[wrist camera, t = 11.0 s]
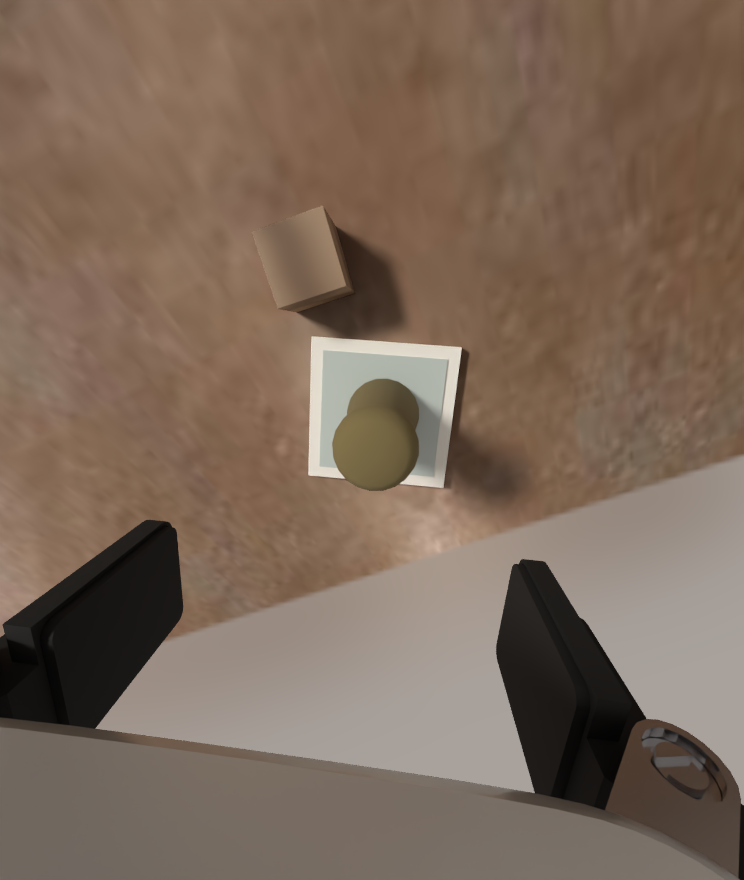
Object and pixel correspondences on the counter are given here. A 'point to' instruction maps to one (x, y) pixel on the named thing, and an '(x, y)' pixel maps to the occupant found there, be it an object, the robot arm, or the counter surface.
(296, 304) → the walnut block
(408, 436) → the olive rounded tall piece
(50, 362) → the counter surface
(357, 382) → the plate
